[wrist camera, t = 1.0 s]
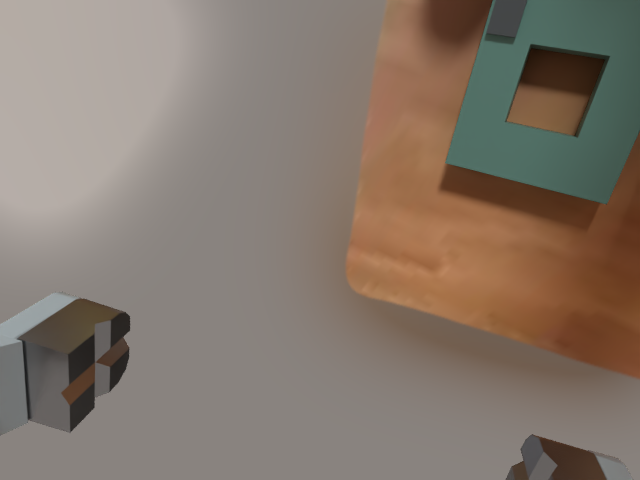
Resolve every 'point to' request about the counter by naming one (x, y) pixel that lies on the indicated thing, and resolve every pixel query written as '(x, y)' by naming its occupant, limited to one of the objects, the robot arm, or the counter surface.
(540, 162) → the board
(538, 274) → the counter surface
